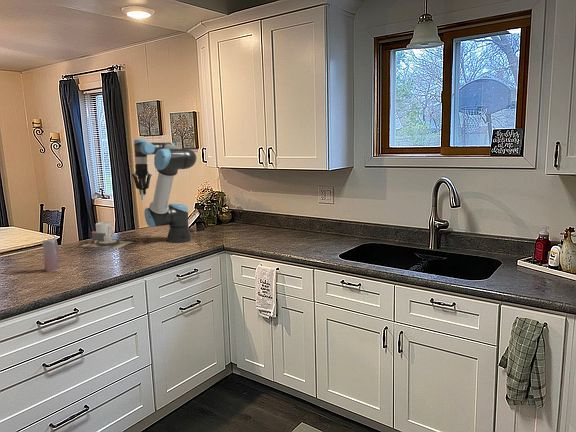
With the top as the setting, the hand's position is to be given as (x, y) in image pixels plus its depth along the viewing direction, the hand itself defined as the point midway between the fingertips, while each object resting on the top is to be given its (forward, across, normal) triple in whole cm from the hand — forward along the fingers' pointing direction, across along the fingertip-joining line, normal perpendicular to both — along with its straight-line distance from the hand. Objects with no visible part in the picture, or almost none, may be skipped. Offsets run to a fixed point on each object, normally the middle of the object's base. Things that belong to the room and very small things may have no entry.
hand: (143, 199), depth 287 cm
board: (+24, +7, +31) cm, 40 cm away
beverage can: (+25, +5, +83) cm, 86 cm away
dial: (+23, +10, +31) cm, 40 cm away
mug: (+25, +19, +14) cm, 34 cm away
